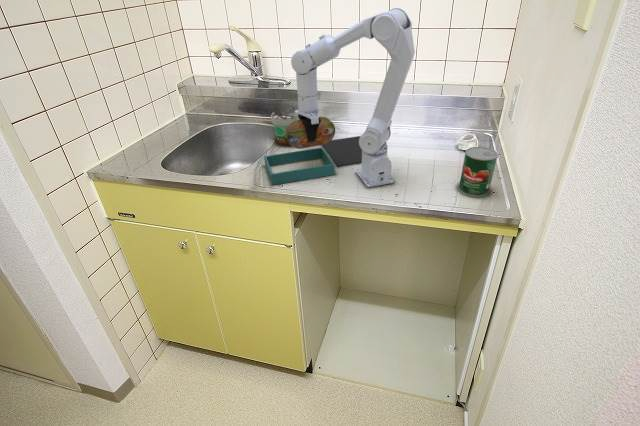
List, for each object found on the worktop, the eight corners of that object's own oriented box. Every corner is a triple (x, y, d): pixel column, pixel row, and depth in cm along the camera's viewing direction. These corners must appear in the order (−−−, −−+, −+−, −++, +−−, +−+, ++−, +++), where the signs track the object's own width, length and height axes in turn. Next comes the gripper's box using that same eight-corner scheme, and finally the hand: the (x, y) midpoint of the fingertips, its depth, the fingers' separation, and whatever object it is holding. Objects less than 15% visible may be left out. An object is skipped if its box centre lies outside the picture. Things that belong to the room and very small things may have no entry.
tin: (288, 150, 114) (286, 124, 109) (286, 146, 117) (283, 120, 112) (335, 143, 117) (335, 117, 112) (332, 139, 120) (332, 113, 115)
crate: (334, 174, 115) (334, 164, 113) (272, 185, 111) (270, 174, 109) (322, 156, 125) (322, 147, 124) (265, 166, 122) (264, 156, 120)
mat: (384, 159, 122) (384, 158, 122) (337, 166, 119) (337, 165, 119) (362, 136, 138) (362, 135, 138) (320, 143, 135) (320, 141, 135)
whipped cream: (478, 156, 123) (482, 142, 120) (457, 153, 124) (460, 139, 121) (477, 144, 129) (481, 131, 126) (456, 141, 130) (460, 128, 127)
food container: (266, 144, 136) (262, 117, 131) (275, 137, 141) (272, 111, 135) (295, 149, 131) (293, 121, 126) (304, 143, 136) (302, 115, 130)
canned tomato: (460, 196, 102) (467, 158, 96) (456, 181, 108) (463, 146, 102) (491, 197, 100) (500, 160, 94) (486, 183, 107) (494, 147, 101)
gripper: (288, 89, 113) (292, 132, 121) (299, 103, 101) (303, 150, 109) (311, 86, 115) (313, 129, 122) (325, 100, 103) (326, 146, 110)
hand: (310, 139), depth 116 cm, fingers closed on tin, 2 cm apart
